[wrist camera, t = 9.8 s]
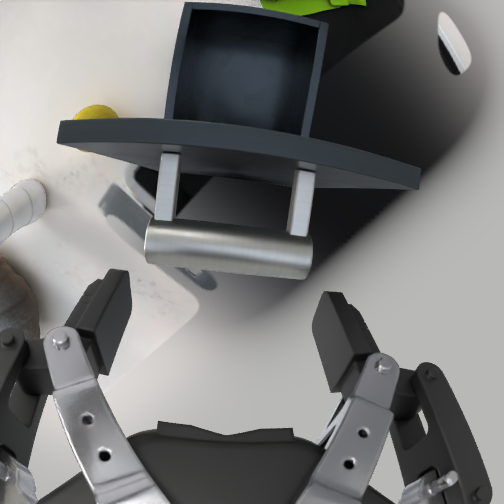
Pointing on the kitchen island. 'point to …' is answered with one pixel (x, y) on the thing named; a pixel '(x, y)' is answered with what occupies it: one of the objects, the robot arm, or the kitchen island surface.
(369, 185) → the caddy lid
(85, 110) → the lemon
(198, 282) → the kitchen island surface
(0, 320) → the gourd
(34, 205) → the silver bottle
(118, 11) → the kitchen island surface
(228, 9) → the box
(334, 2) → the cloth
